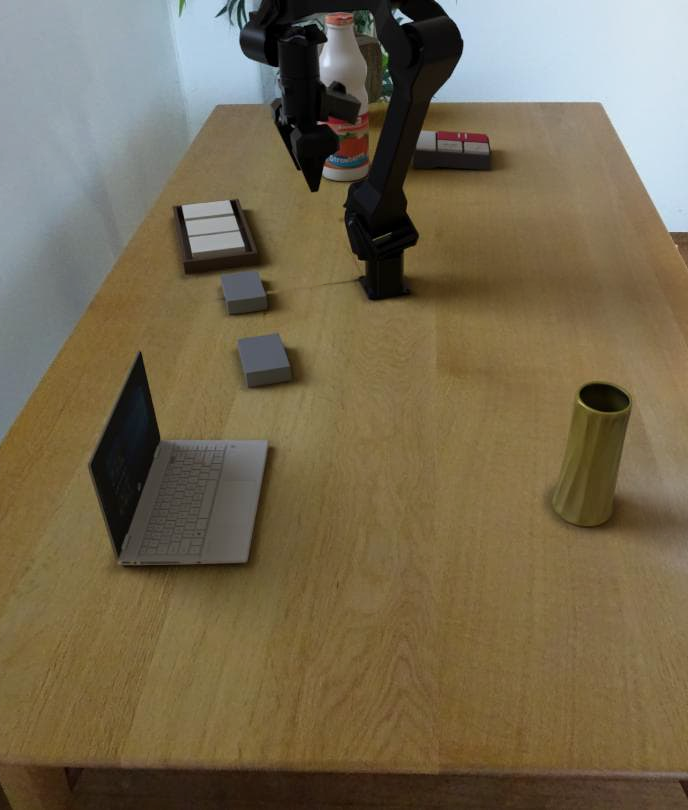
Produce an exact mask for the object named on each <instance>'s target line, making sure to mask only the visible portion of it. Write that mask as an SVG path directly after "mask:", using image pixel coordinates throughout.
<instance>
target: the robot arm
mask: <svg viewBox="0 0 688 810" xmlns="http://www.w3.org/2000/svg"><path fill="white" fill-rule="evenodd" d="M395 9H398V10H399V13H401V14H402V15H404V16H405V17H406V18H408V19H409V20H411V21H409V22H404V23H402V24H400V23H399V22H398V20H397V19H396V17H395V16H394V14H393V10H395ZM355 11H357V12H365V11H368V12H369V13H370V15H371V16H372V17H373V22H374V28H375V34H376V38H377V39H378V42H379V44H380V46H382V48H383V49H384V51H385V52H386V53H387V54H388V57H387V63H386V66H387V71H388V74H389V77H390V80H391V83H392V90H391V94H390V98H389V101H388V104H387V108H386V112H385V115H384V119H383V121H382V122H383V123H382V126H381V129H380V133H379V137H378V140H377V143H376V148H375V151H374V154H373V158H372V162H371V166H370V167H369V171H368V174H367V178H362V179H359V180H356V181H355V182H352V183H350V184H349V187H348V188H347V195H346V200H345V201H344V203H343V205H342V208H344V209H345V210H344V216H343V218H344V226H345V230H346V234H347V238H348V242H349V246H350V249H351V253H352V254H353V255H355V256H356V257H357V260H358V261H361V262H364V275H359V276H358V282H359V284H360V286H361V288H362V290H363V292H364V293H365V295H366V297H367V299H368V300H378V299H385V298H391V297H399V296H405V295H411V294H412V289H411V287H410V286H409V284H408V282H407V280H406V279H405V250H407V249H409V248H411V247H412V248H413V247H415V246H417V245H418V244H417V243H418V241H419V239H420V233H419V232H418V229H416V226H415V224H414V223H413V220H412V219H411V218H410V216H409V213H408V212H407V210H408V209H407V208H408V198H407V196H406V193H405V191H404V185H405V181H406V178H407V175H408V173H409V169H410V166H411V163H412V161H413V154H414V151H415V148H416V145H417V142H418V139H419V136H420V133H421V131H423V130H422V129H423V126H424V123H425V121H426V117H427V114H428V111H429V109H430V106H431V102H432V100H433V97H434V96H435V95H436V94H437V93H438V92H439V91H440V89H442V87H443V86H444V85H445V84H446V83H447V81H449V79H450V78H451V77H452V75H453V73H454V71H455V70H456V67H457V66H458V63H459V62H460V61H461V58H462V56H463V52H464V48H465V47H464V46H465V45H464V43H465V41H464V39H463V38H462V33H461V31H460V28H459V27H458V25H457V23H456V22H455V21H454V20H453V18H451V17H450V16H449V14H448V13H447V12H446V10H445V9H444V8H443V6H442V5H441V4H440V3H439V2H438V1H436V0H261V1H260V3H259V7H258V9H257V10H253V11H252V10H251V11H249V12H248V21H247V22H246V23H245V24H244V26H243V27H242V29H241V32H240V37H239V39H238V40H239V47H240V50H241V53H243V55H244V56H245V57H246V58H247V59H249V60H251V61H253V62H258V63H260V64H262V65H263V64H264V65H266V66H270V67H272V68H278V73H279V78H277V79H276V83H277V87H278V88H279V90H280V97H276V98H274V100H273V101H272V102H271V103H270V105H269V106H270V114H271V115H270V116H271V119H272V120H273V124H274V126H275V127H276V130H277V131H278V134H279V136H280V139H281V140H282V142H283V144H284V146H285V148H286V150H287V152H288V154H289V156H290V158H291V160H292V162H293V164H294V167H295V169H296V171H298V172H300V171H301V173H302V175H303V178H304V180H305V182H306V184H307V186H308V189H309V191H310V192H311V193H318V192H319V191H320V186H321V181H322V177H323V175H322V173H323V168H324V165H325V161H326V159H327V158H329V157H330V156H331V155H334V154H335V153H336V152H337V151H339V150H340V140H339V136H338V135H337V133H336V132H335V131H334V130H333V129H332V128H331V127H330V126H329V125H328V124H319V125H318V122H319V121H320V122H329V117H332V118H335V119H339V120H343V121H346V122H348V123H349V124H352V125H355V124H356V121H357V118H358V114H359V111H360V108H361V105H362V103H361V102H360V101H359V100H358V99H357V98H356V97H355V96H352V95H351V94H350V93H348V94H347V92H346V87H345V85H344V84H343V83H341V82H337V81H333V82H332V83H331V85H330V86H329V87H326V85H325V84H324V83H323V82H322V81H321V80H320V64H319V46H318V44H322V43H327V42H328V38H327V36H326V35H325V32H324V31H322V30H321V29H320V27H319V25H318V24H317V23H310V24H305V25H297V24H303V23H307V22H309V21H311V20H314V19H315V20H316V19H319V18H321V17H324V16H326V15H327V14H330V13H331V12H333V13H336V12H346V13H348V12H355ZM292 25H293V26H292Z"/></svg>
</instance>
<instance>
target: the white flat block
mask: <svg viewBox="0 0 688 810" xmlns="http://www.w3.org/2000/svg"><path fill="white" fill-rule="evenodd" d="M189 241H190V247H191V252H192V257H193V259H200V258H208V257H216V256H224V255H232V254H239V253H246V252H245V245H244V242H243V239H242V236H241V233H240V231H239V232H231V233H223V234H214V235H206V236H198V237H190V238H189Z"/></svg>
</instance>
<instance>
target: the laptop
mask: <svg viewBox="0 0 688 810" xmlns="http://www.w3.org/2000/svg"><path fill="white" fill-rule="evenodd" d="M143 357H144V356H143V353H142V351H141V350H140V349H138V350H137V352H136V354H135V356H134V359H133V361H132V363H131V365H130V367H129V370H128V372H127V374H126V377H125V379H124V381H123V383H122V386H121V387H120V390H119V392H118V394H117V397H116V398H115V401H114V403H113V406H112V408H111V410H110V411H109V412H110V413H109V415H108V417H107V419H106V421H105V423H104V426H103V428H102V430H101V433H100V434H99V437H98V439H97V441H96V444H95V446H94V448H93V451H92V453H91V455H90V457H89V459H88V461H87V469H88V473H89V475H90V480H91V482H92V486H93V489H94V492H95V496H96V499H97V503H98V507H99V509H100V512H101V516H102V520H103V522H104V526H105V529H106V532H107V536H108V539H109V543H110V545H111V549H112V552H113V556H114V559H115V561H117V560H118V563H117V564H118V565H120V566H161V565H162V566H163V565H165V566H167V565H207V564H209V565H212V564H214V565H215V564H216V565H217V564H243V563H244V564H245V563H247V562H248V559H249V553H250V549H251V544H252V538H253V533H254V532H253V531H254V527H255V522H256V520H255V519H256V515H257V511H258V505H259V499H260V494H261V489H262V484H263V477H264V472H265V466H266V461H267V457H268V450H269V445H270V441H269V440H268V439H161V433H160V432H161V431H160V428H159V424H158V420H157V414H156V411H155V406H154V402H153V397H152V393H151V389H150V384H149V379H148V375H147V370H146V367H145V362H144V358H143Z"/></svg>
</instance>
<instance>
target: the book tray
mask: <svg viewBox="0 0 688 810" xmlns="http://www.w3.org/2000/svg"><path fill="white" fill-rule="evenodd" d="M226 200H227V199H223V200H222V201H226ZM228 200H229V201H230V204H231V207H232V210H233V213H234V216H235V218H236V221H237V224H238V227H239V231H240V233H241V236H242V239H243V242H244V245H245V252H246V253H239V254H232V255H224V256H216V257H208V258H200V259H193V257H192V252H191V248H190V243H189V238H188V233H187V229H186V225H185V220H184V215H183V209H182V205H183V204H180V205H179V204H178V205H172V212H173V217H174V223H175V228H176V233H177V239H178V244H179V249H180V254H181V260H182V264H183V265H182V266H183V270H184V275H193V274H199V273H207V272H216V271H222V270H231V269H238V268H246V267H253V266H259V265H260V262H259V252H258V250H257V246H256V243H255V241H254V238H253V236H252V233H251V231H250V227H249V224H248V221H247V219H246V216H245V213H244V210H243V208H242V204H241V201H240V199H239V198H233V199H228ZM217 201H218V200H215V201H214V200H213V202H217ZM208 202H209V201H207V202H206V201H205V202H204V203H208ZM199 203H200V202H198V203H197V202H196V203H195V204H199ZM190 204H191V203H189V204H188V203H187V204H186V205H190Z"/></svg>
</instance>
